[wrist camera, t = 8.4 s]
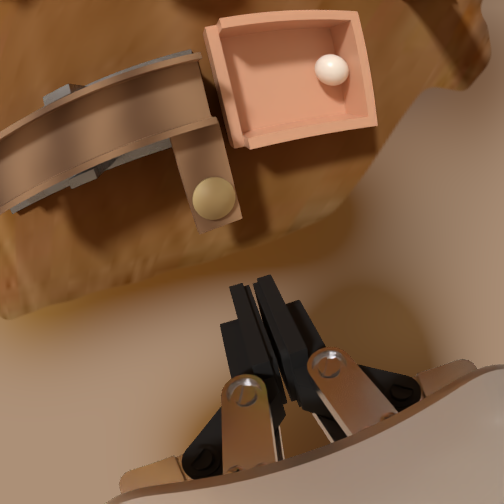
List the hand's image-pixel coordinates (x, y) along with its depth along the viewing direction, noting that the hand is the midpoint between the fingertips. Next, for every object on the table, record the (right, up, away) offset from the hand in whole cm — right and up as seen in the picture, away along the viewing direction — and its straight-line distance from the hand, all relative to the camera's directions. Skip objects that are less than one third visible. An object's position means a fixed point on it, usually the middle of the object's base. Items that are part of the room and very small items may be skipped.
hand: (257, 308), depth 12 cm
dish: (+3, +20, +14) cm, 25 cm away
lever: (-13, +8, +9) cm, 18 cm away
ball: (+8, +20, +12) cm, 25 cm away
